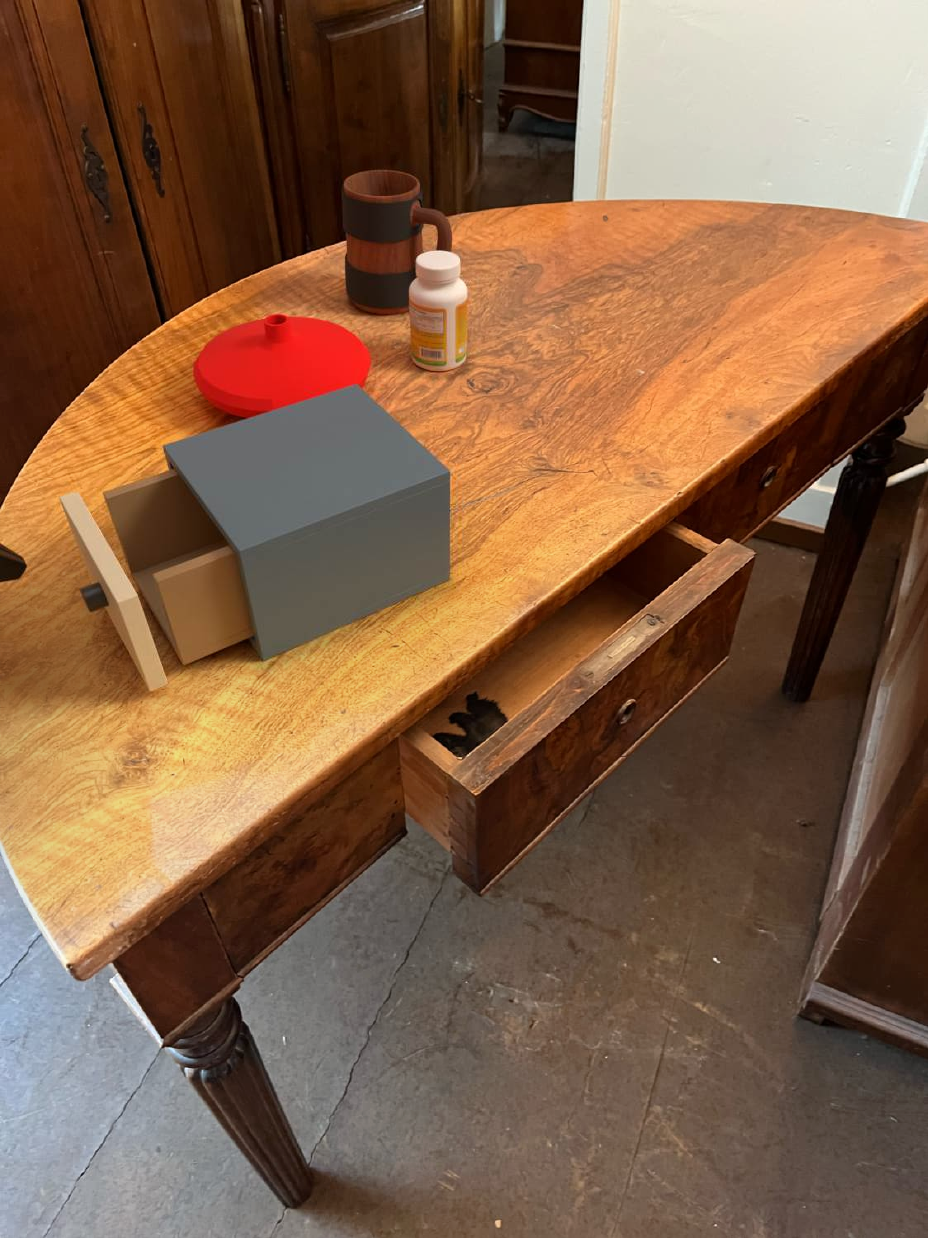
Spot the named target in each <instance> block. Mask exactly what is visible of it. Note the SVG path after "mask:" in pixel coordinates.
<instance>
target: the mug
mask: <svg viewBox="0 0 928 1238" xmlns="http://www.w3.org/2000/svg"><path fill="white" fill-rule="evenodd" d="M341 201H342V202H341V204H342V205H341V206H342V228H343V231H344V232H345V241H346V242H345V243H346V253H345V254H344V281H345V282H344V283H345V292H346V295H347V297H348V299H350V301H351V302H352V304H353V305H354V306H355V307H356V308H358V309H359V310H361V311H363V312H366V313H371V314H376V315H397V314H402V313H407V312H410V309H409V287H410V285H411V283H412V282H413V281H414V280H415V279H416V278H417V276H416V258H417V257H418V256H419V255H421V254H422V253H425V251H424V242H423V229H424V227H425V225H429V226H430V225H431V226H434V227H435V228H436V233H437V238H436V239H437V240H436V249H435V251H447V252H451V253H452V248H453V230H452V227H451V223H450V221H449V219H448V217H447V216H446V215H445V214H444V213H443V212H441V211H439V210H437V209H434V208H427V207H426V208H425V207H424V203H423V186H422V185H421V183H420V181H419V179H418V178H417V177H415V176H413V175H412V174H409V173H406V172H402V171H397V170H392V169H391V170H390V169H374V170H366V171H360V172H357V173H354V174H352V175H349V176H347V178H346V179H345V180H344V181H343V184H342V185H341Z"/></svg>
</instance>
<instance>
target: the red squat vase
mask: <svg viewBox="0 0 928 1238" xmlns="http://www.w3.org/2000/svg"><path fill="white" fill-rule="evenodd" d="M371 366H372V358H371V352H370V350H369V349H368V347H367V346H366V345H365V343H364V342H363V341H362V340H361V339H360V338H359V337H358V336H357V335H356V334H355V333H353V332H352V331H350V330H348V329H347V327H344V326H342V325H340V324H337V323H334V322H332V321H330V320H324V319H320V318H314V317H307V316H291V315H289V316H288V315H287V314H282V313H273V314H269V315H267V316H265V317H264V318H260V319H255V320H250V321H246V322H244V323H240V324H238V325H235V326H231V327H230V328H228V329H226V330H224V331H222V332H220V333H219V334H217V335H215V336H214V337H213V338H212V339H210V340H209V341H208V342H207V343H206V344H205V345H204V346H203V348H202V349H201V351H199V354H198V356H197V357H196V359H195V361H194V362H193V367H192V378H193V380H194V382H195V384H196V386H197V388H198V389H199V390H200V393H201V394H202V396H203V397H204V399H206V400H207V401H208V402H209V403H210V404H212V406H214V407H215V408H217V409H219V410H221V411H223V412H225V413H227V414H230V415H232V416H236V417H241V418H245V419H248V418H251V417H254V416H257V415H260V414H263V413H267V412H270V411H273V410H276V409H279V408H282V407H285V406H289V405H292V404H295V403H298V402H301V401H304V400H307V399H311V398H314V397H317V396H320V395H323V394H326V393H330V392H333V391H336V390H339V389H342V388H345V387H348V386H352V385H355V384H357V385H358V386H359V387H360V388H362V389H363V388H364V386H365V385H366V383H367V382H366V381H367V379H368V375H369V372H370V368H371Z"/></svg>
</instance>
